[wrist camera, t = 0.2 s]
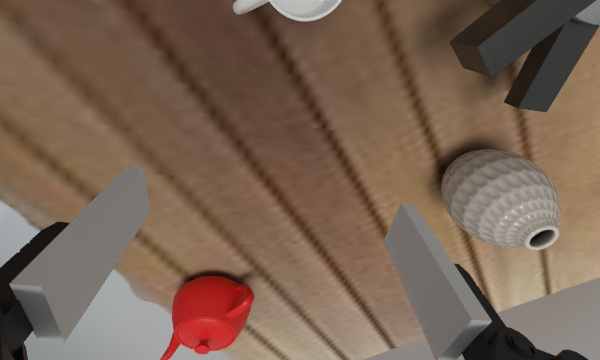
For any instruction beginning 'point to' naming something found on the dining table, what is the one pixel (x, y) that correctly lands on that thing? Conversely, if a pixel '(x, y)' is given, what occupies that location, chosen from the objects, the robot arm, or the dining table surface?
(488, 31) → the lid
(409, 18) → the dining table surface
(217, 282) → the teapot
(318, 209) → the dining table surface
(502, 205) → the vase
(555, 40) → the pot
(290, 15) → the cup
